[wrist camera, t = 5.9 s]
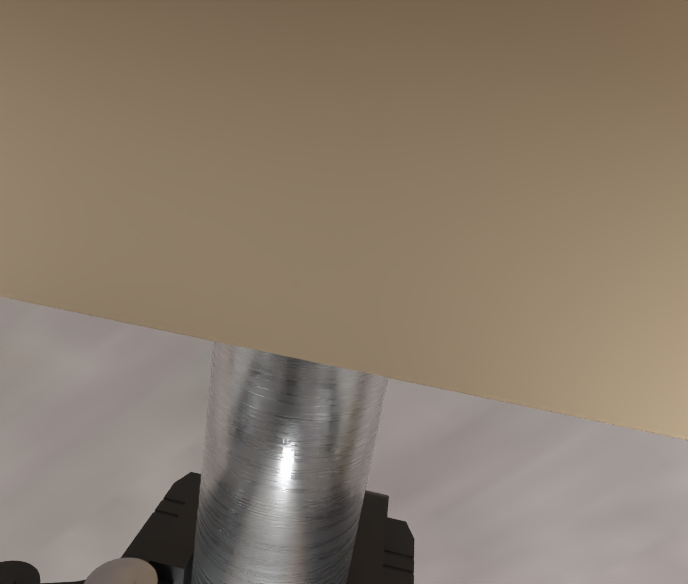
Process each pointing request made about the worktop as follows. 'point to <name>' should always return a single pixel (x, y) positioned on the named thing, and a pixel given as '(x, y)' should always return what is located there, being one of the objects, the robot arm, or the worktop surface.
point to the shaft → (283, 468)
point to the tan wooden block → (366, 186)
